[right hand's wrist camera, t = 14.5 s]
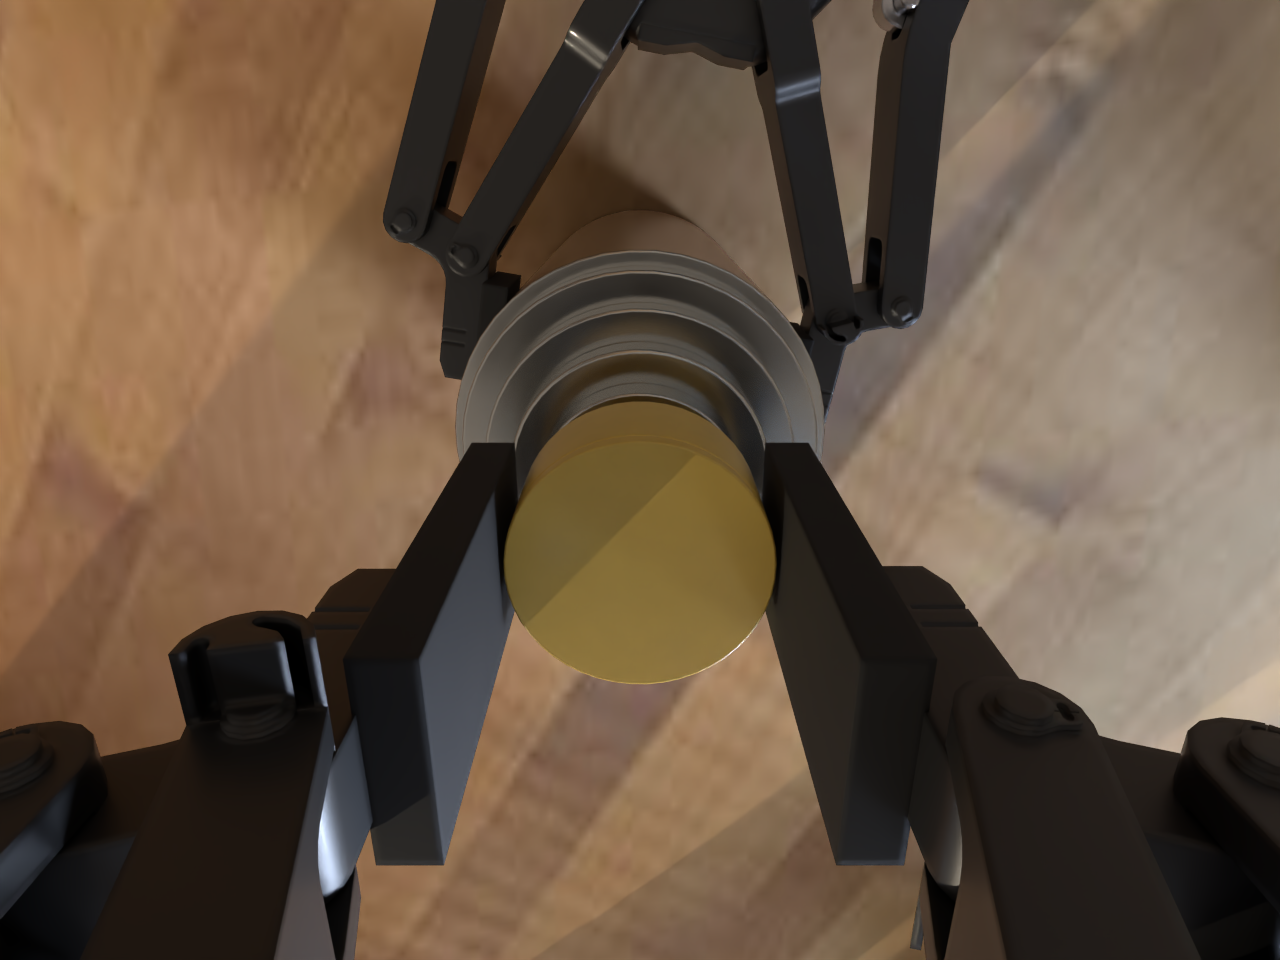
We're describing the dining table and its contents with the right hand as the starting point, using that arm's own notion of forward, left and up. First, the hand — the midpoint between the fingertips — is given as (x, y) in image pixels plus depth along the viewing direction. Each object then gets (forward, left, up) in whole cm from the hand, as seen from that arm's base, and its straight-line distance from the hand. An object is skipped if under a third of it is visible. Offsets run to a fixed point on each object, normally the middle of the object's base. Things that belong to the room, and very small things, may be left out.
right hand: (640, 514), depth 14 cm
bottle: (0, 0, -18) cm, 18 cm away
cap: (0, 0, +2) cm, 2 cm away
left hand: (-3, +4, -12) cm, 13 cm away
